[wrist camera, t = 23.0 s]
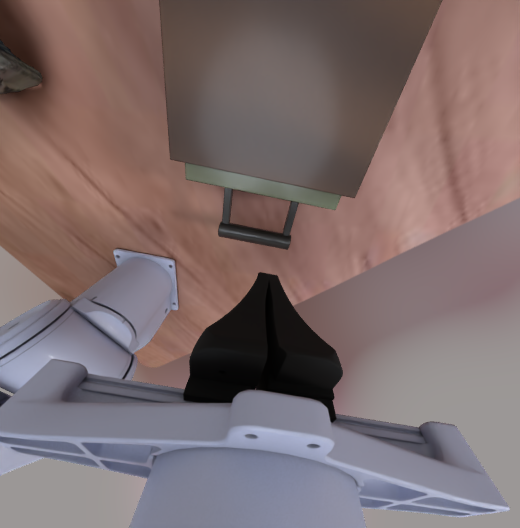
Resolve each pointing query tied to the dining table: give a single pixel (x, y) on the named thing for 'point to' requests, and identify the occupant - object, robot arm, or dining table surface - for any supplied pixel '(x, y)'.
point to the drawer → (261, 188)
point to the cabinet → (287, 84)
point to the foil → (15, 72)
